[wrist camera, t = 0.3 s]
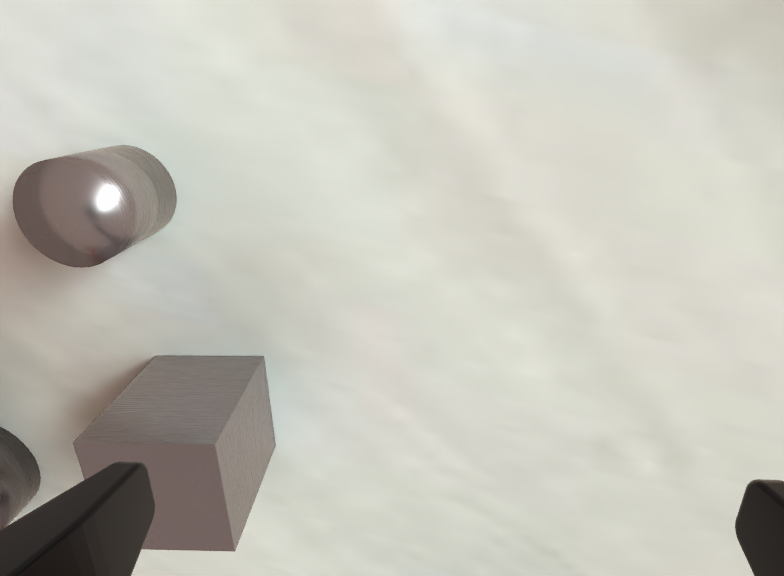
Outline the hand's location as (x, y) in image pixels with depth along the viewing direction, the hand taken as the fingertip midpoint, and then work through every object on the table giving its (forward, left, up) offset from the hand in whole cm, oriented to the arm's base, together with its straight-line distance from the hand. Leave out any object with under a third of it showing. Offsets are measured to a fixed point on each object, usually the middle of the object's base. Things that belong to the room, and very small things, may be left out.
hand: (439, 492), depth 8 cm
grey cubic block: (-8, +10, -14) cm, 19 cm away
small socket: (+2, +12, -14) cm, 18 cm away
